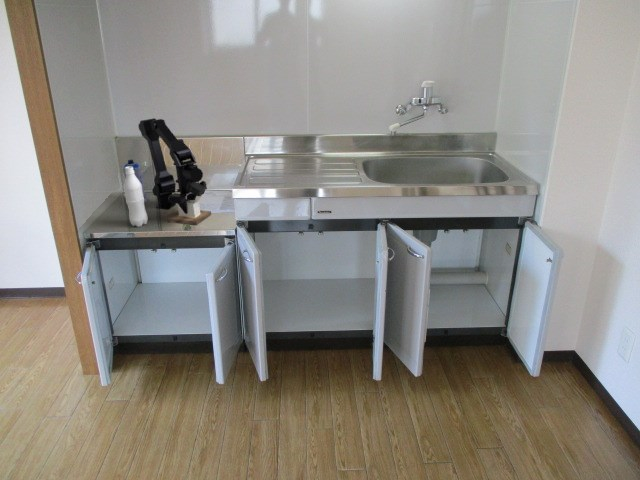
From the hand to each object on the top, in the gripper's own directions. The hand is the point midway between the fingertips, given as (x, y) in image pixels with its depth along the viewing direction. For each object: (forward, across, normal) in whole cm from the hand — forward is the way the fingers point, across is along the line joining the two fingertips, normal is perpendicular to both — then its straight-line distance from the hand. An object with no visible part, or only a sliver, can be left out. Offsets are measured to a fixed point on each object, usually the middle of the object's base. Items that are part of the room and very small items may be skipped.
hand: (189, 211), depth 216 cm
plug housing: (+2, 0, 0) cm, 2 cm away
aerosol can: (+3, +11, +35) cm, 37 cm away
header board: (+3, 0, 0) cm, 3 cm away
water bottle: (+3, -12, +17) cm, 21 cm away
